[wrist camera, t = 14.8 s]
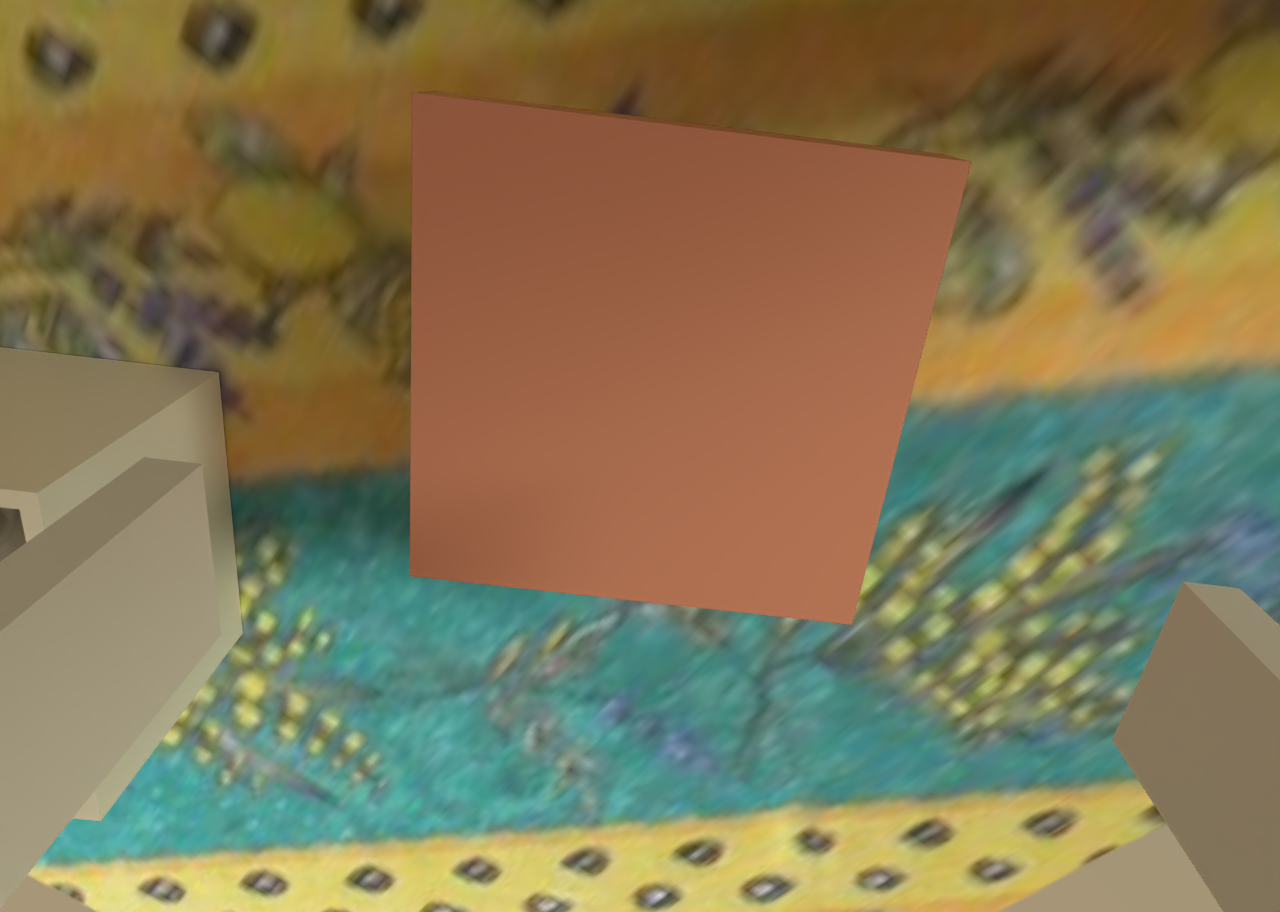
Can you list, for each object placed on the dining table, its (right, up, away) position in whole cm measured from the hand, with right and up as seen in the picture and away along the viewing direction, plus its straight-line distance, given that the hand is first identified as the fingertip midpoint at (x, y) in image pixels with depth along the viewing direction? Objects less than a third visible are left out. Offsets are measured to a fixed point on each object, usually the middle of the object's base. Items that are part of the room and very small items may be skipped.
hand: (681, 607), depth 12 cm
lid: (0, +5, +11) cm, 12 cm away
